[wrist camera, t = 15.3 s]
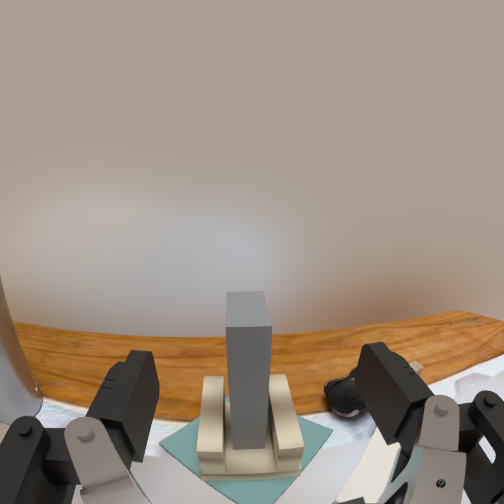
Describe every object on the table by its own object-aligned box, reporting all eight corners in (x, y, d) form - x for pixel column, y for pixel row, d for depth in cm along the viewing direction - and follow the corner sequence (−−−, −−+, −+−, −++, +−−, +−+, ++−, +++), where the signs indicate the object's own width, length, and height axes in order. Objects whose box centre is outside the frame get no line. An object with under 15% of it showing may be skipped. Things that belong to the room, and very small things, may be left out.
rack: (299, 475, 19) (308, 446, 17) (201, 480, 18) (192, 451, 17) (284, 407, 28) (287, 373, 27) (206, 410, 28) (201, 376, 26)
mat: (259, 517, 15) (259, 516, 14) (159, 444, 22) (158, 442, 22) (332, 432, 24) (332, 429, 24) (239, 389, 32) (239, 387, 32)
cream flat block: (421, 541, 8) (444, 526, 7) (323, 515, 14) (334, 500, 13) (454, 427, 20) (468, 404, 19) (384, 411, 26) (394, 387, 25)
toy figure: (386, 362, 37) (311, 398, 30) (401, 330, 35) (324, 362, 28) (418, 388, 31) (346, 436, 24) (437, 355, 29) (366, 402, 22)
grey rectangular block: (265, 448, 21) (272, 325, 18) (232, 449, 21) (225, 327, 17) (259, 407, 27) (262, 291, 23) (232, 408, 27) (227, 292, 23)
